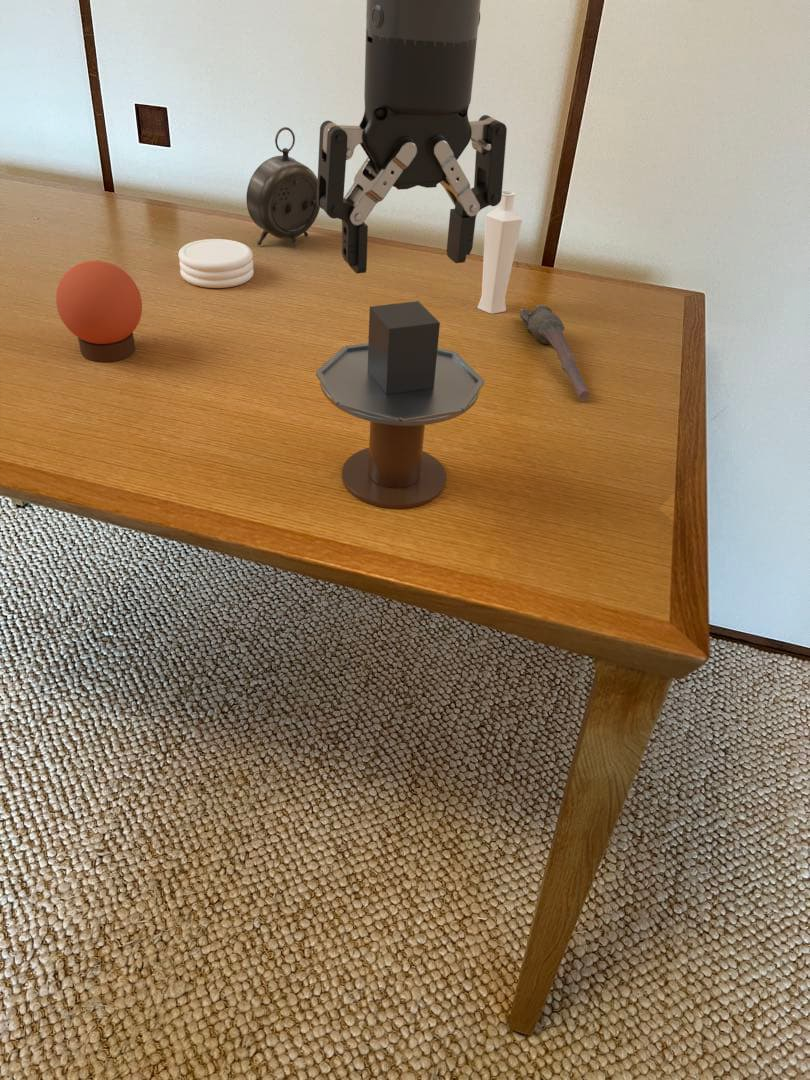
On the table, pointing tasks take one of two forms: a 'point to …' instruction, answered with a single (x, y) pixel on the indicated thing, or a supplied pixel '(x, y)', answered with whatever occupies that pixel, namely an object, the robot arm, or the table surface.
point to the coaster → (216, 263)
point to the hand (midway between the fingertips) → (407, 264)
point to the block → (402, 347)
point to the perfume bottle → (499, 253)
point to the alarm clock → (283, 196)
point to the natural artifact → (555, 343)
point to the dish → (396, 425)
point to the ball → (100, 309)
